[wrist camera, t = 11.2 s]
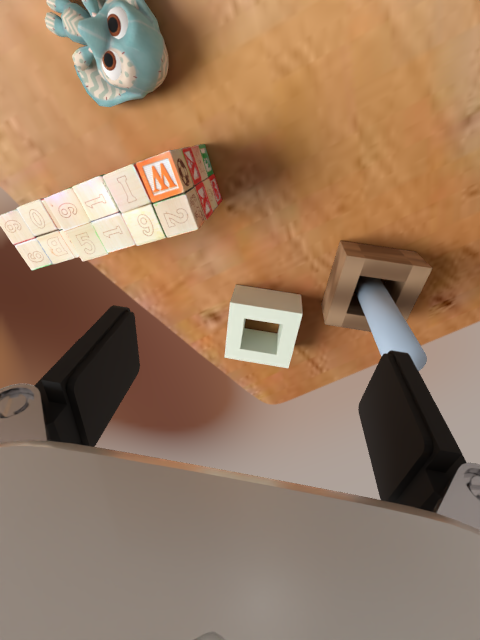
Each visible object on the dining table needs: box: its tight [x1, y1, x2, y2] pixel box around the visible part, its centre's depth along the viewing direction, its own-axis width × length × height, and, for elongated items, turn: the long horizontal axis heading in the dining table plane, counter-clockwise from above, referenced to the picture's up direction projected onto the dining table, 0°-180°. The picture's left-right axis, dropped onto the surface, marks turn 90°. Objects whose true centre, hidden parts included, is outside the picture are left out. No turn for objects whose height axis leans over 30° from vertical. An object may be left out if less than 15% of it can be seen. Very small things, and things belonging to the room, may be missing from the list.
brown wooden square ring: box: [321, 241, 432, 332], centre depth 37 cm, size 9×9×5 cm
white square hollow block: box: [225, 285, 303, 368], centre depth 42 cm, size 9×9×5 cm
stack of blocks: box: [0, 144, 222, 270], centre depth 32 cm, size 21×6×12 cm, turn 107°
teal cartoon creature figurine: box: [45, 0, 169, 107], centre depth 27 cm, size 11×7×12 cm
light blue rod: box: [355, 276, 427, 371], centre depth 32 cm, size 3×3×16 cm
